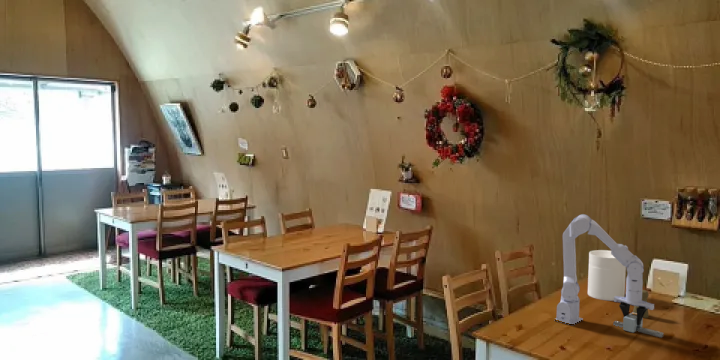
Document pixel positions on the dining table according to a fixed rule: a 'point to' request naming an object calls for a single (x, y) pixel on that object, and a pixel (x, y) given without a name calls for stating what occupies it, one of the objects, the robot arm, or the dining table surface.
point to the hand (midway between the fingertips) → (632, 323)
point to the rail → (641, 329)
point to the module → (631, 322)
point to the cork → (644, 298)
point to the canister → (605, 276)
